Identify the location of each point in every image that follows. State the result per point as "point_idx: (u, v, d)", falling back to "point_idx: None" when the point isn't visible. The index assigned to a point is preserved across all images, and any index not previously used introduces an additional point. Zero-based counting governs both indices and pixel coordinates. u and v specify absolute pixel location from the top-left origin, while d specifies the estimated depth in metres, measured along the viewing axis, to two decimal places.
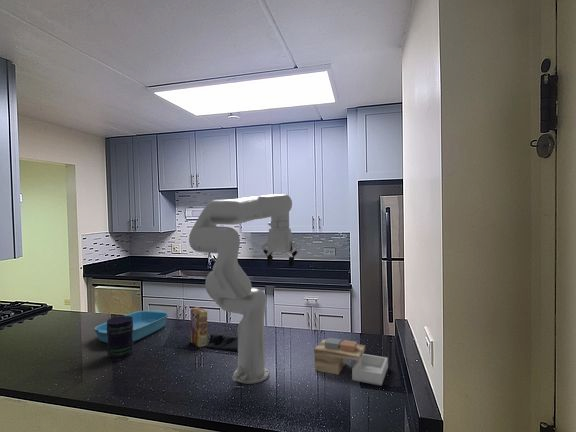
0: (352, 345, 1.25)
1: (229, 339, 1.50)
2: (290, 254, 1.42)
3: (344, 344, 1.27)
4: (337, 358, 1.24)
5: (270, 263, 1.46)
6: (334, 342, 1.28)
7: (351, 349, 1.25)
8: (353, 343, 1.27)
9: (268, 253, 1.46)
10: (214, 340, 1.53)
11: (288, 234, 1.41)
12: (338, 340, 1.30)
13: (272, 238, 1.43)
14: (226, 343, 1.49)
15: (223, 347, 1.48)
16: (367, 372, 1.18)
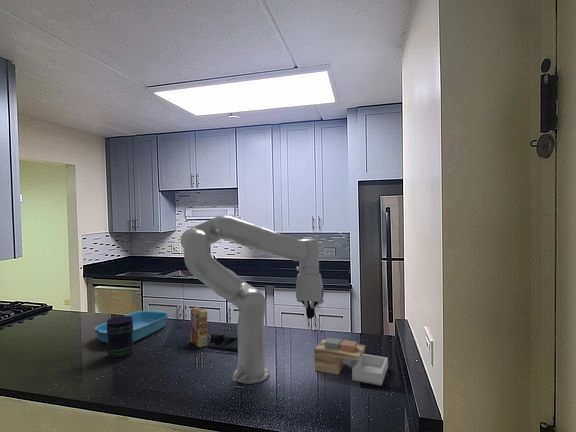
0: (352, 345, 1.25)
1: (230, 339, 1.50)
2: (312, 305, 1.32)
3: (344, 344, 1.27)
4: (337, 358, 1.24)
5: None
6: (334, 342, 1.28)
7: (351, 349, 1.25)
8: (353, 343, 1.27)
9: (305, 304, 1.33)
10: (215, 340, 1.53)
11: (319, 281, 1.30)
12: (338, 340, 1.30)
13: (301, 285, 1.32)
14: (227, 343, 1.49)
15: (224, 347, 1.48)
16: (367, 372, 1.18)
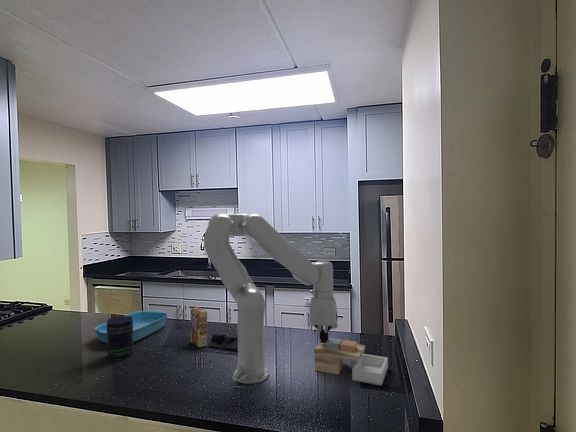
0: (352, 345, 1.25)
1: (230, 339, 1.51)
2: (326, 329, 1.30)
3: (344, 344, 1.27)
4: (337, 358, 1.24)
5: None
6: (335, 342, 1.28)
7: (351, 349, 1.25)
8: (353, 343, 1.27)
9: (319, 328, 1.31)
10: (216, 340, 1.54)
11: (333, 306, 1.28)
12: (339, 340, 1.30)
13: (315, 309, 1.30)
14: (227, 343, 1.50)
15: (224, 347, 1.48)
16: (367, 372, 1.18)
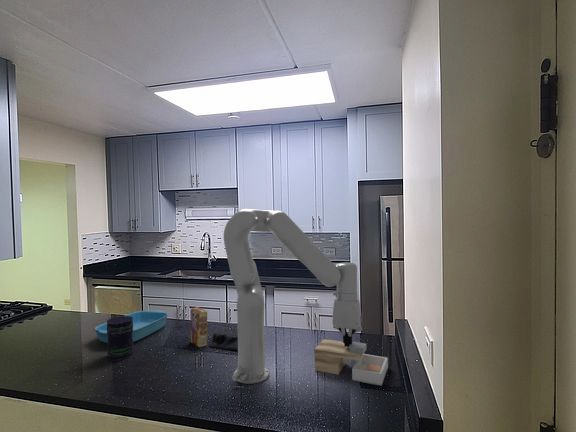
0: None
1: (231, 339, 1.51)
2: (350, 332, 1.26)
3: None
4: (337, 358, 1.24)
5: None
6: (360, 346, 1.24)
7: None
8: None
9: (343, 331, 1.27)
10: (217, 339, 1.54)
11: (358, 308, 1.24)
12: (363, 344, 1.26)
13: (339, 311, 1.26)
14: (228, 343, 1.50)
15: (225, 347, 1.48)
16: (367, 372, 1.18)
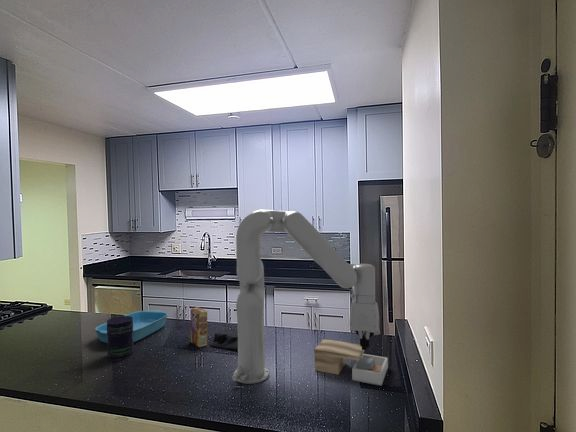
0: None
1: (232, 339, 1.51)
2: (367, 335, 1.23)
3: None
4: (337, 358, 1.24)
5: None
6: None
7: None
8: None
9: (360, 334, 1.24)
10: (218, 339, 1.54)
11: (376, 311, 1.21)
12: None
13: (356, 314, 1.23)
14: (229, 342, 1.50)
15: (225, 346, 1.49)
16: (367, 372, 1.18)
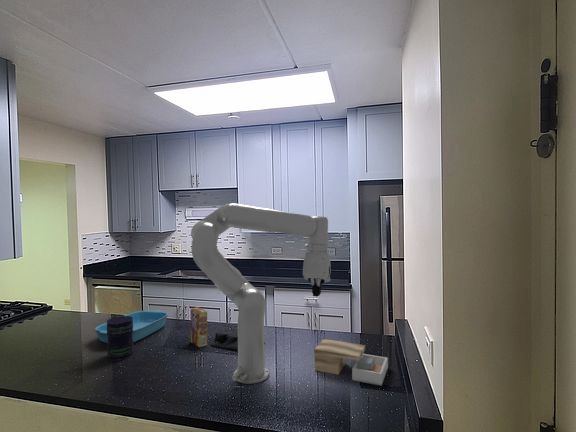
0: None
1: (233, 338, 1.51)
2: (318, 282, 1.32)
3: None
4: (337, 358, 1.24)
5: None
6: None
7: None
8: None
9: (312, 281, 1.33)
10: (219, 339, 1.55)
11: (326, 259, 1.30)
12: None
13: (309, 262, 1.32)
14: (229, 342, 1.50)
15: (226, 346, 1.49)
16: (367, 372, 1.18)
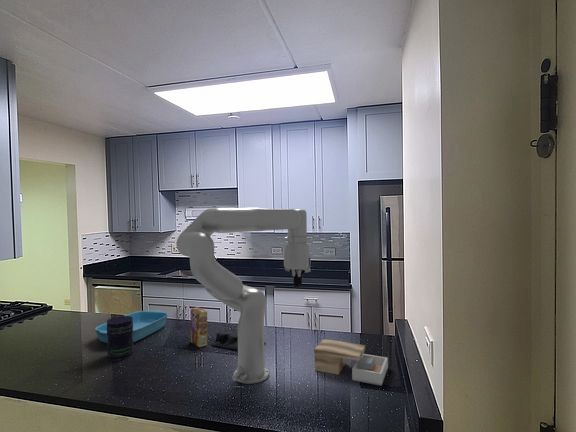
0: None
1: (233, 338, 1.51)
2: (299, 273, 1.36)
3: None
4: (337, 358, 1.24)
5: None
6: None
7: None
8: None
9: (293, 272, 1.37)
10: (220, 339, 1.55)
11: (306, 250, 1.34)
12: None
13: (289, 254, 1.36)
14: (230, 342, 1.50)
15: (227, 346, 1.49)
16: (367, 372, 1.18)
